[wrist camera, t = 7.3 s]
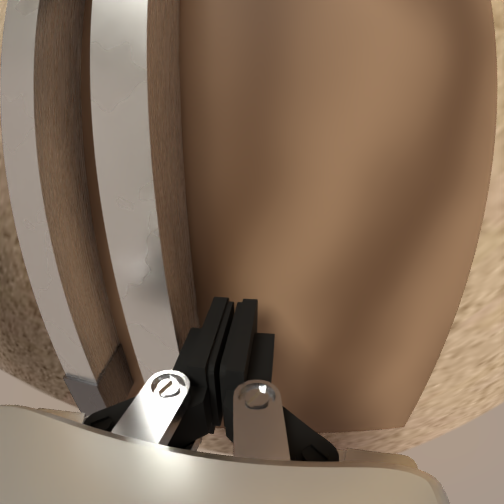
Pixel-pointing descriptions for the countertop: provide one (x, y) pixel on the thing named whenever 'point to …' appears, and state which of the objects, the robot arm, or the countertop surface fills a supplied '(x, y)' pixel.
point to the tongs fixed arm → (57, 195)
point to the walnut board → (330, 186)
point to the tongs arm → (143, 172)
